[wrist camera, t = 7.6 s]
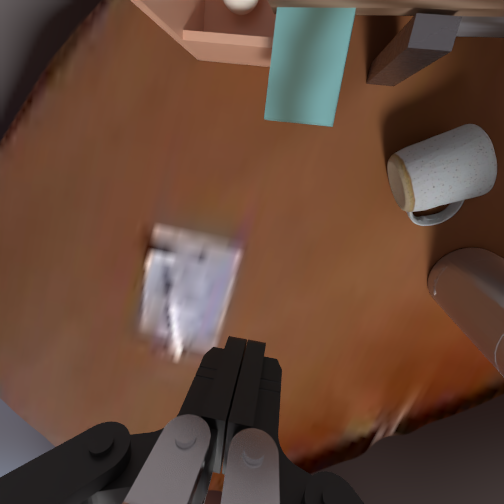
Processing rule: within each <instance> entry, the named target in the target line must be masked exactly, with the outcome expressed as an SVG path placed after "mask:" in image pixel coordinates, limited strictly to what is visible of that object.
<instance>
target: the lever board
mask: <svg viewBox="0 0 504 504" xmlns="http://www.w3.org/2000/svg"><path fill="white" fill-rule="evenodd" d="M268 2H269V4H270V6H271V8H272V11H273V13H274V14H276V21H275V29H274V38H273V46H272V55H271V63H270V72H269V81H268V89H267V98H266V106H265V115H264V119H266V120H272V121H281V122H291V123H301V124H311V125H320V126H330V127H333V122H334V117H335V112H336V108H337V103H338V98H339V93H340V88H341V83H342V78H343V73H344V68H345V63H346V58H347V53H348V48H349V43H350V38H351V33H352V28H353V23H354V18H355V15H401V16H415V14H416V13H422V14H436V15H450V16H462V19H461V22H460V26H459V29H458V32H457V35H456V36H461V37H499V38H504V0H268Z"/></svg>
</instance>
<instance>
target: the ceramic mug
mask: <svg viewBox="0 0 504 504" xmlns="http://www.w3.org/2000/svg"><path fill="white" fill-rule="evenodd" d="M387 172H388V178H389V183H390V187H391V190H392V193H393V196H394V198H395V200H396V202H397V204H398V205H399V207H400V208H401V209H402V210H404V211H406V212H407V214H408V216H409V217H410V219H411V220H412V221H413V222H414V223H415V224H418V225H421V226H430V225H435V224H439V223H442V222H444V221H446V220H448V219H449V218H451V217H452V216H453V215H455V214H456V212H457V211H458V210H459V209H460V208H461V206H462V204H463V202H464V200H465V199H469V198H474V197H478V196H481V195H484V194H486V193H488V192H489V191H490V190H491V189H492V187H493V185H494V183H495V180H496V175H497V159H496V156H495V151H494V147H493V144H492V142H491V140H490V138H489V136H488V135H487V134H486V133H485V131H484V130H483V129H482V128H481V127H479V126H477V125H475V124H465V125H462V126H460V127H457V128H455V129H452V130H450V131H447V132H444V133H442V134H439V135H436V136H434V137H431V138H429V139H426V140H424V141H421V142H418V143H416V144H413V145H410V146H408V147H405V148H403V149H401V150H399V151H398V152H396V153H394V154H393V155H391V157H390V159H389V160H388V164H387ZM449 203H451V204H450V205H449V206H448V207H447V208H446V209H445V210H443V211H441V212H439V213H437V214H433V215H428V216H420V217H416V216H414V215H413V213H412V212H415V211H423V210H427V209H431V208H434V207H437V206H440V205H445V204H449Z"/></svg>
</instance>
